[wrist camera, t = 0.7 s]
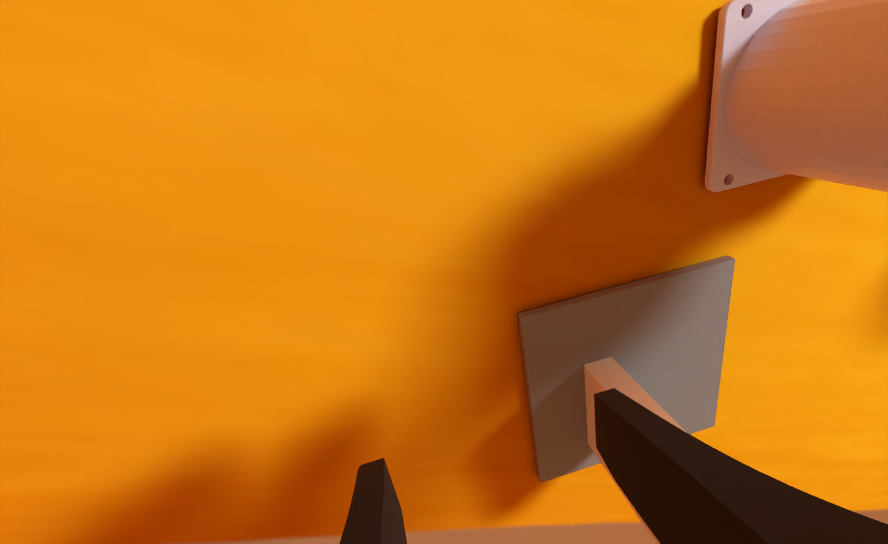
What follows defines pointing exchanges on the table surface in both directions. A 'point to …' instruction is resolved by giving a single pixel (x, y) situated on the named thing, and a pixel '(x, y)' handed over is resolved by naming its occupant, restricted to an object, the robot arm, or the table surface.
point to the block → (614, 376)
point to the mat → (626, 355)
